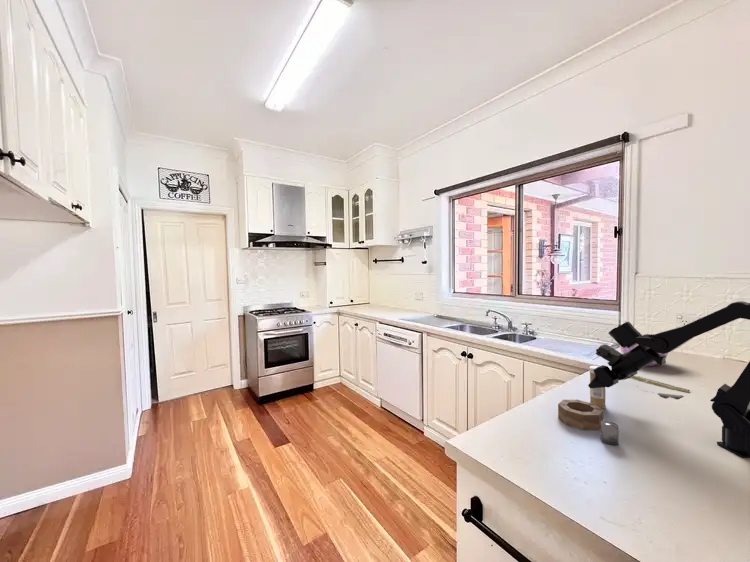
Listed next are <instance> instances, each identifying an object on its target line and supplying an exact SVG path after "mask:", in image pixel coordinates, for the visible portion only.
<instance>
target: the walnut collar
mask: <svg viewBox="0 0 750 562" xmlns="http://www.w3.org/2000/svg"><path fill="white" fill-rule="evenodd" d="M557 413H558V414H557V418H558V419H559V420H560V421H561V422H563V423H564V424H565V425H567V426H570V427H572V428H575V429H578V430H583V431H599V430H600V431H601V421H604V409H603V408H600V407H598V406H597V405H595V404H593V403H590V401H589V402H588V401H585V400H580V399H562V400H561V401H560V402H558V404H557Z"/></svg>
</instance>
